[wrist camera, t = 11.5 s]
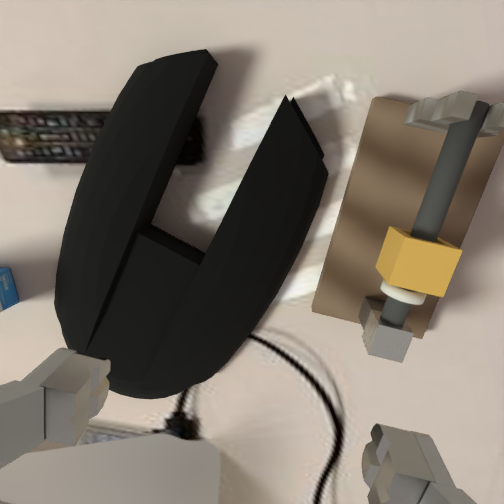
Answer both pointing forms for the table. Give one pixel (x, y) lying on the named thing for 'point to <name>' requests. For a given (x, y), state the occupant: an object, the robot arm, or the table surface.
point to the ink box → (7, 289)
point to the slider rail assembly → (401, 196)
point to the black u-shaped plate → (170, 248)
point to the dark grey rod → (436, 205)
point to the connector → (383, 332)
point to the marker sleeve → (417, 262)
